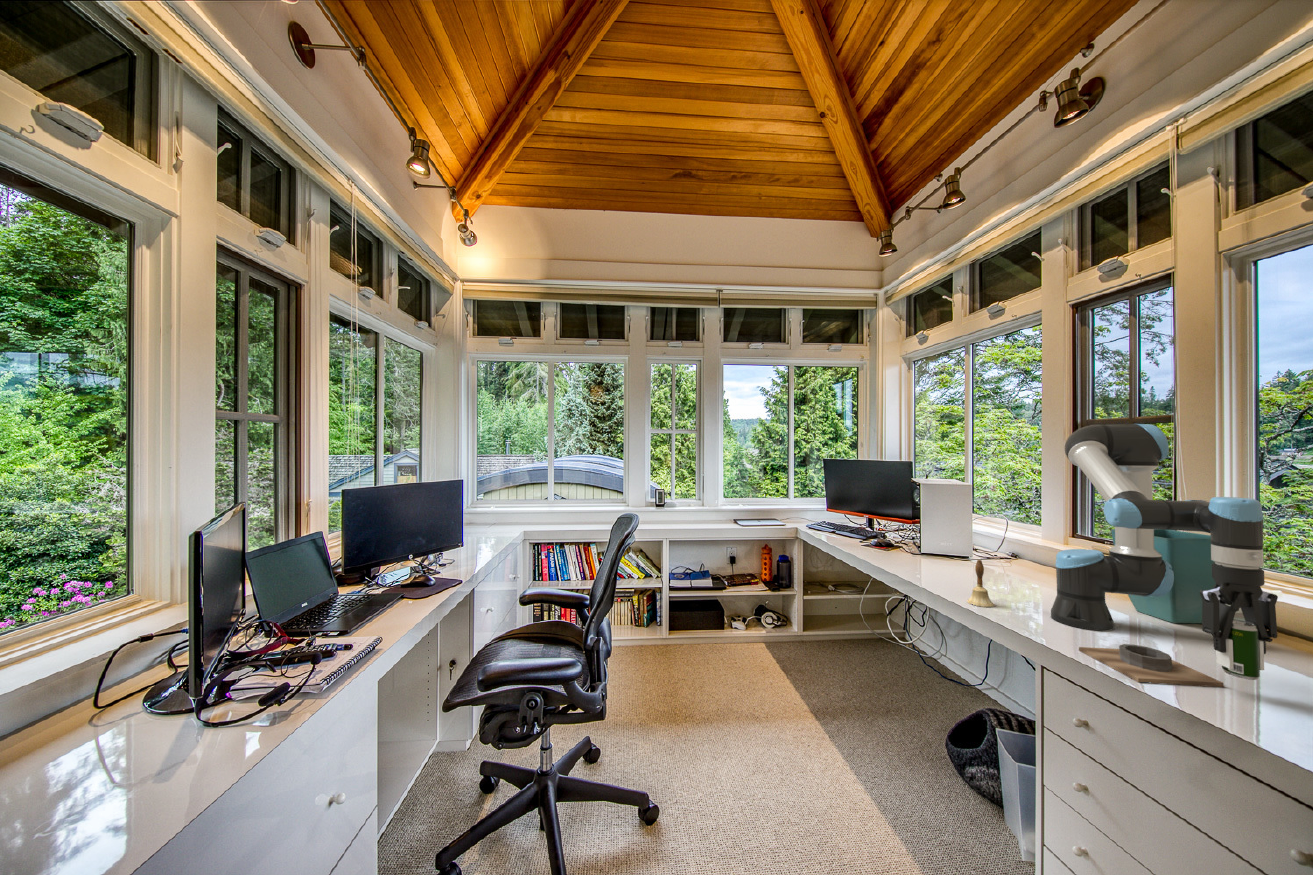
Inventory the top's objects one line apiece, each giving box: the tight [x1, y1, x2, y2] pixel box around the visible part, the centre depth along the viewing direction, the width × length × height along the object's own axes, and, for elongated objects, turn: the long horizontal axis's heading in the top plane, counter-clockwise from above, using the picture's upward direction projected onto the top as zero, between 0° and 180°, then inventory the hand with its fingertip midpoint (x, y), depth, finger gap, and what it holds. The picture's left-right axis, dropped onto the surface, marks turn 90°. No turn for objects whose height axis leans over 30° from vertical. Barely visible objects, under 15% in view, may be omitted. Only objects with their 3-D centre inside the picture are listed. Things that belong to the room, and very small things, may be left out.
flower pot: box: [1110, 528, 1219, 624], centre depth 155 cm, size 20×20×28 cm
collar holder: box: [1078, 643, 1225, 688], centre depth 118 cm, size 18×18×4 cm
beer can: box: [1221, 619, 1261, 681], centre depth 105 cm, size 5×5×12 cm
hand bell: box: [966, 559, 995, 608], centre depth 168 cm, size 8×8×16 cm
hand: (1240, 666), depth 105 cm, fingers closed on beer can, 5 cm apart
